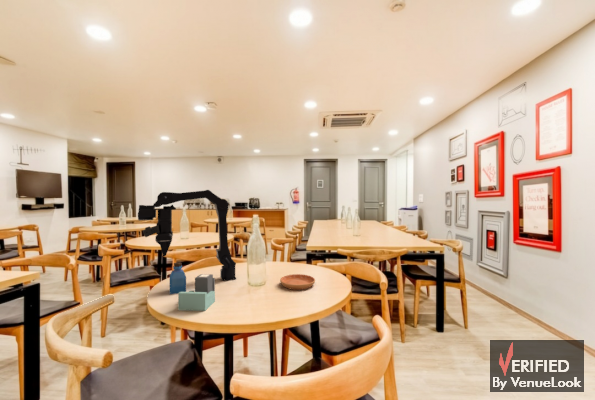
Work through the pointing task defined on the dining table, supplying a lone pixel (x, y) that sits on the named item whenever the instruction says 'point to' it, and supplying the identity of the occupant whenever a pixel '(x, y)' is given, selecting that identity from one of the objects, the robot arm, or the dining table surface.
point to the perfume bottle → (177, 279)
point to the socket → (195, 300)
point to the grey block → (204, 283)
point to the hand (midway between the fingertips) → (164, 254)
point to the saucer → (297, 281)
